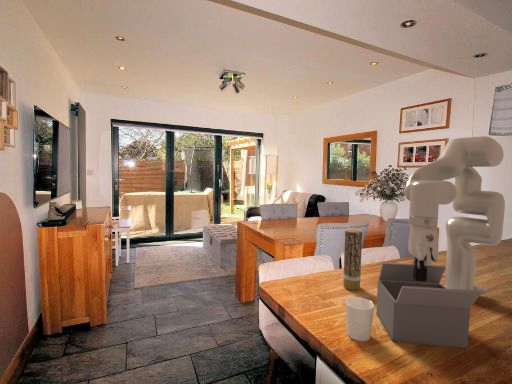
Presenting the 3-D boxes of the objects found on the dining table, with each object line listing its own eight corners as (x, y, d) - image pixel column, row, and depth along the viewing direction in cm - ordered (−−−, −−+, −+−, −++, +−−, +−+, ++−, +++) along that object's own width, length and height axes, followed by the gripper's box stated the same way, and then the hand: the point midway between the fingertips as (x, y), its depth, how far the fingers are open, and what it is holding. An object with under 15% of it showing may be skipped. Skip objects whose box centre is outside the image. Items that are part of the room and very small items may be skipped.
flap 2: (468, 306, 78) (469, 308, 77) (395, 301, 80) (396, 303, 80) (480, 290, 73) (481, 292, 73) (402, 285, 76) (403, 287, 75)
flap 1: (379, 280, 96) (378, 278, 97) (439, 283, 94) (438, 282, 94) (382, 263, 92) (382, 262, 93) (445, 267, 90) (444, 265, 90)
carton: (438, 318, 94) (440, 284, 93) (467, 348, 79) (470, 306, 78) (376, 314, 97) (377, 280, 96) (392, 341, 81) (394, 301, 80)
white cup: (340, 328, 88) (341, 297, 87) (364, 327, 89) (366, 296, 88) (351, 343, 80) (352, 309, 79) (377, 342, 81) (379, 309, 80)
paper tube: (361, 291, 115) (363, 231, 113) (344, 289, 117) (346, 230, 115) (358, 284, 122) (360, 228, 120) (342, 283, 123) (344, 227, 121)
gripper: (449, 227, 77) (445, 291, 79) (424, 218, 92) (421, 272, 94) (420, 226, 78) (417, 289, 80) (400, 217, 93) (398, 271, 95)
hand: (419, 280), depth 87 cm, fingers closed
